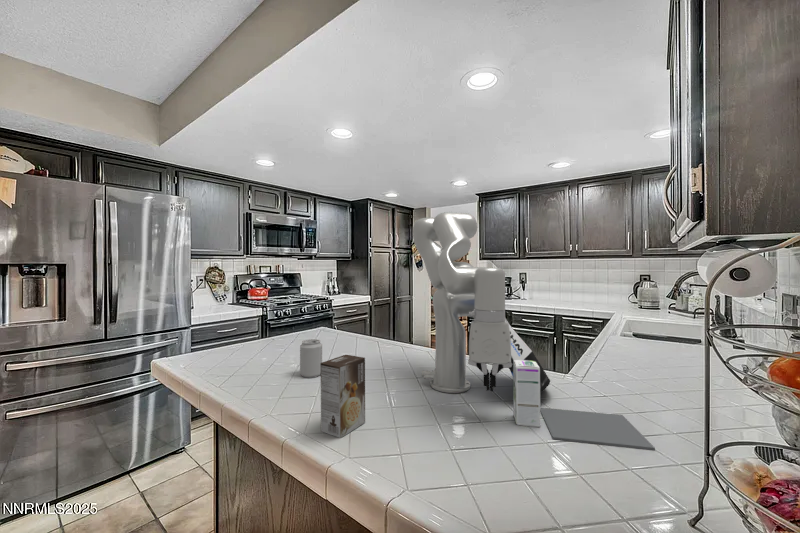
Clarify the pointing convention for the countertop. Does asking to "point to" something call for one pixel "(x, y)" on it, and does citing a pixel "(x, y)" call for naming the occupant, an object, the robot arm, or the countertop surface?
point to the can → (310, 358)
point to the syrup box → (526, 393)
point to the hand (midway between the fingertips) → (489, 389)
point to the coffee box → (342, 394)
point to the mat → (593, 428)
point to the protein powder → (525, 356)
